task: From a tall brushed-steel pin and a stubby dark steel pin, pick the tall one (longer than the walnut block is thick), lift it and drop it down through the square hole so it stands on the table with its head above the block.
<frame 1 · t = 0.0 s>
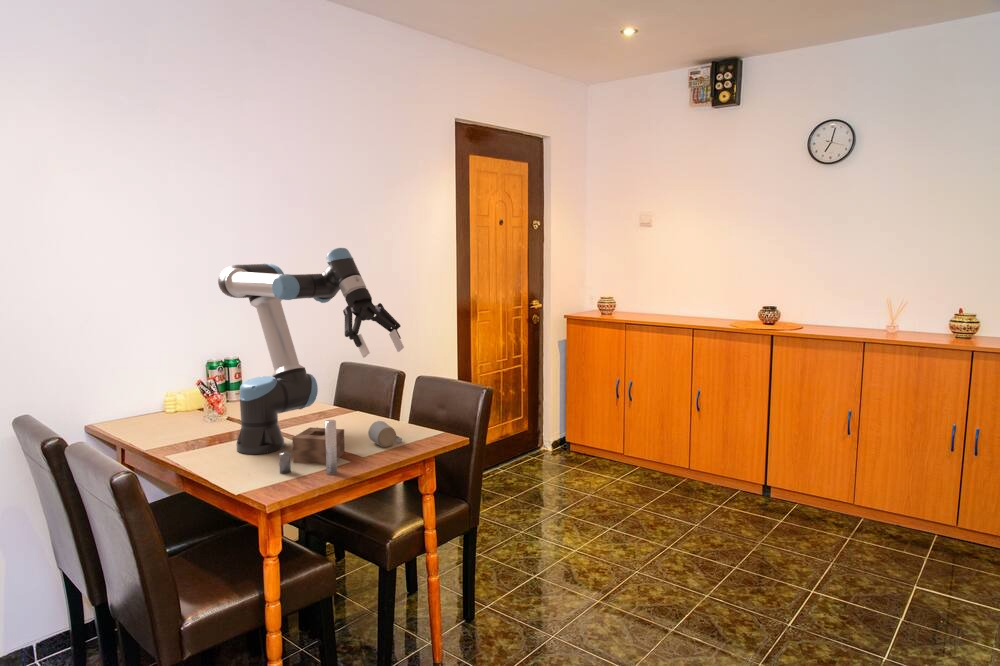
hand: (384, 352, 201), 36 cm above the table, tool tilted 35°, fingers open, 13 cm apart
tall pin: (331, 473, 201), on the table
short pin: (285, 472, 202), on the table
ceramic mug: (386, 444, 230), on the table
hole block: (319, 457, 215), on the table
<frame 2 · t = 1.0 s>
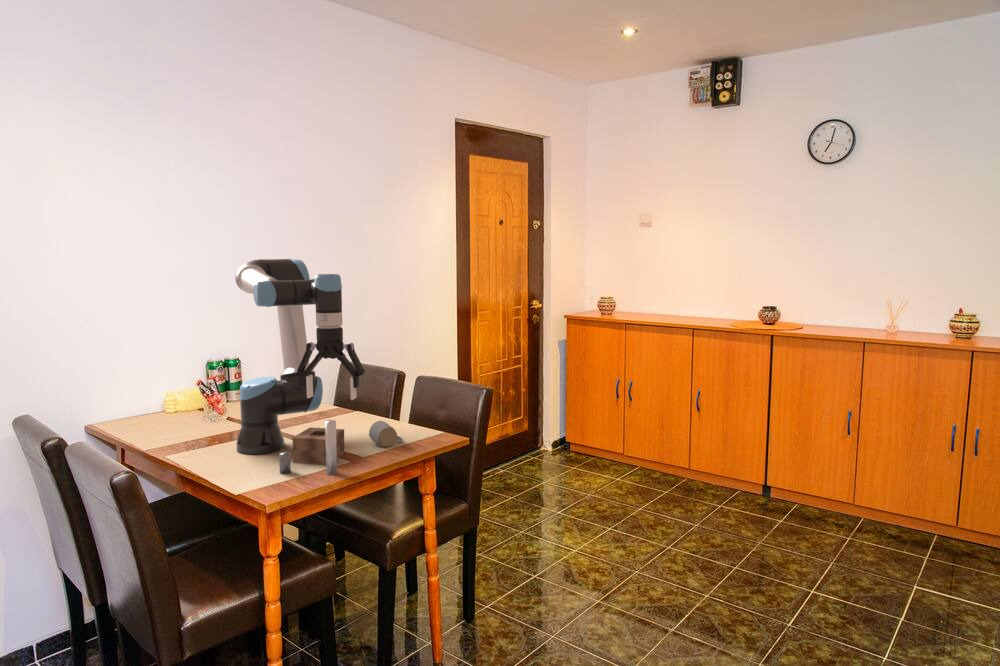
hand: (331, 398, 199), 23 cm above the table, tool pointing down, fingers open, 13 cm apart
nothing on the table moved.
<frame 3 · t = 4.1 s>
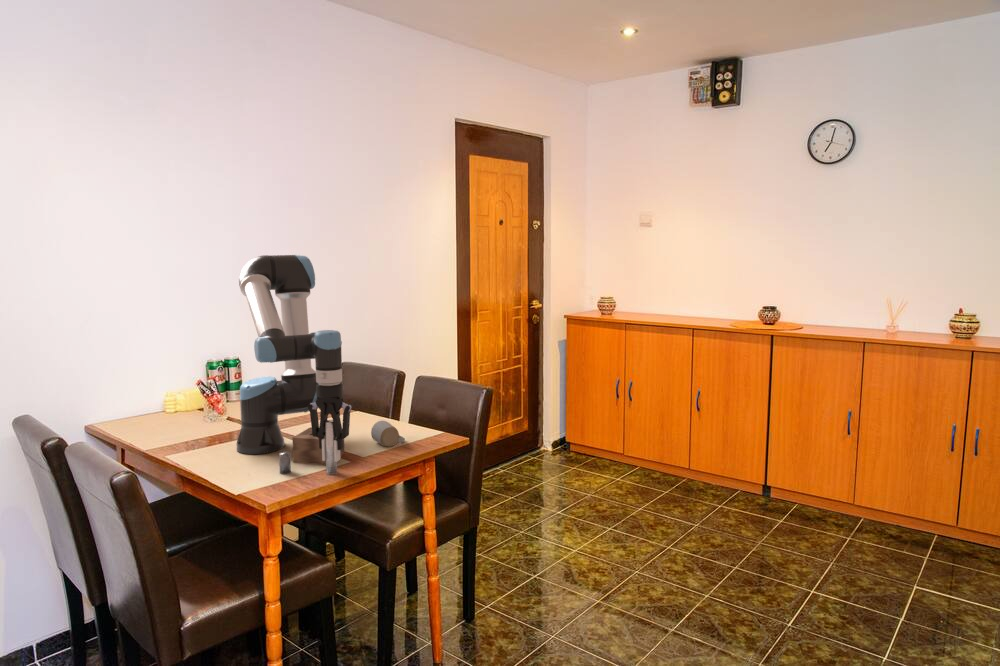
hand: (331, 459, 201), 4 cm above the table, tool pointing down, fingers closed on tall pin, 3 cm apart
tall pin: (331, 473, 201), on the table, touching gripper
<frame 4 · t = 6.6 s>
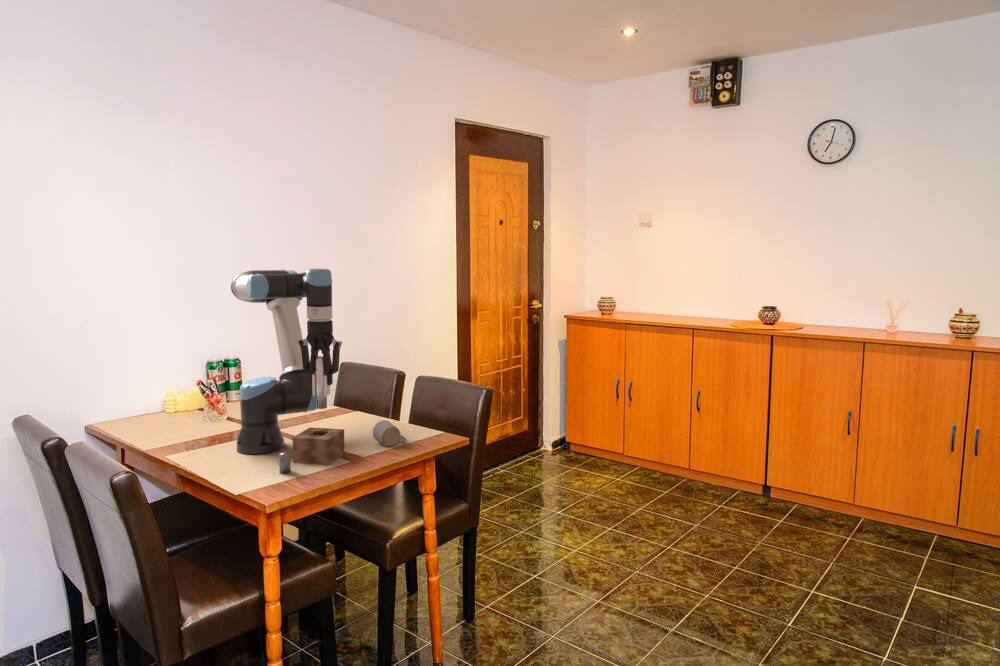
hand: (321, 394, 207), 22 cm above the table, tool pointing down, fingers closed on tall pin, 3 cm apart
tall pin: (321, 407, 208), point 18 cm above the table, touching gripper
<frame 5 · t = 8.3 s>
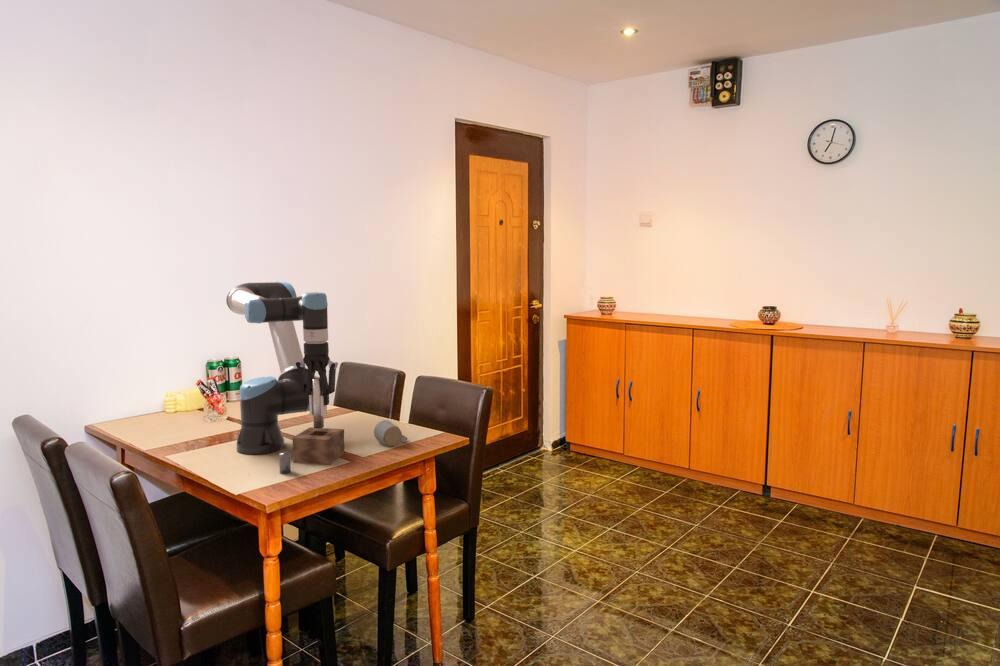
hand: (318, 414, 214), 14 cm above the table, tool pointing down, fingers closed on tall pin, 3 cm apart
tall pin: (318, 427, 214), point 10 cm above the table, touching gripper
when the fingers open (10 cm above the table, at t = 9.5 s): tall pin drops 6 cm, resting in hole block.
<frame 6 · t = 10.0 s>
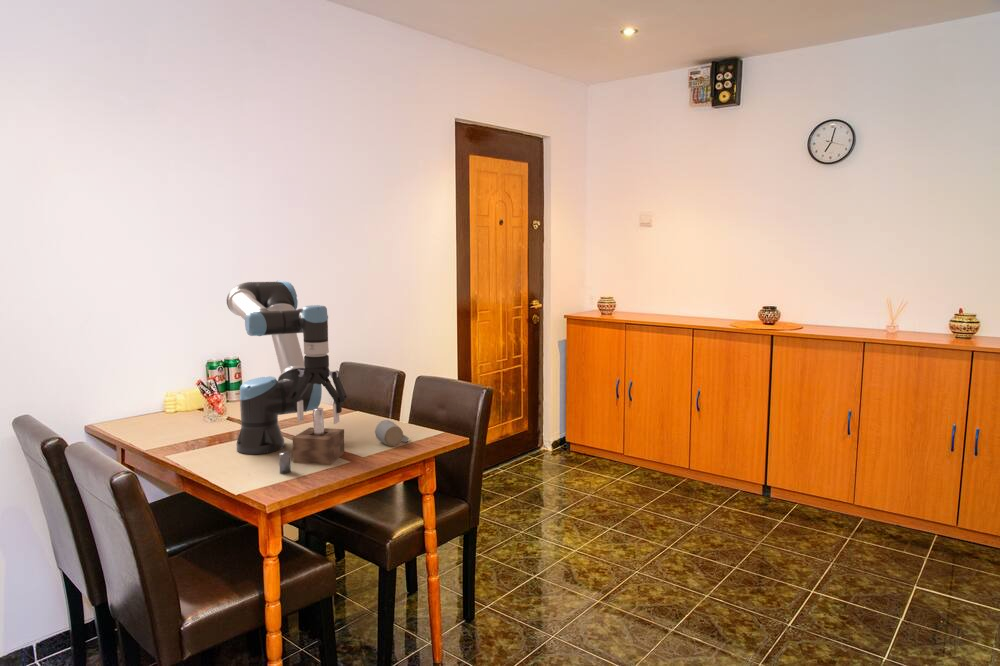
hand: (318, 421, 214), 12 cm above the table, tool pointing down, fingers open, 11 cm apart
tall pin: (320, 457, 215), resting in hole block
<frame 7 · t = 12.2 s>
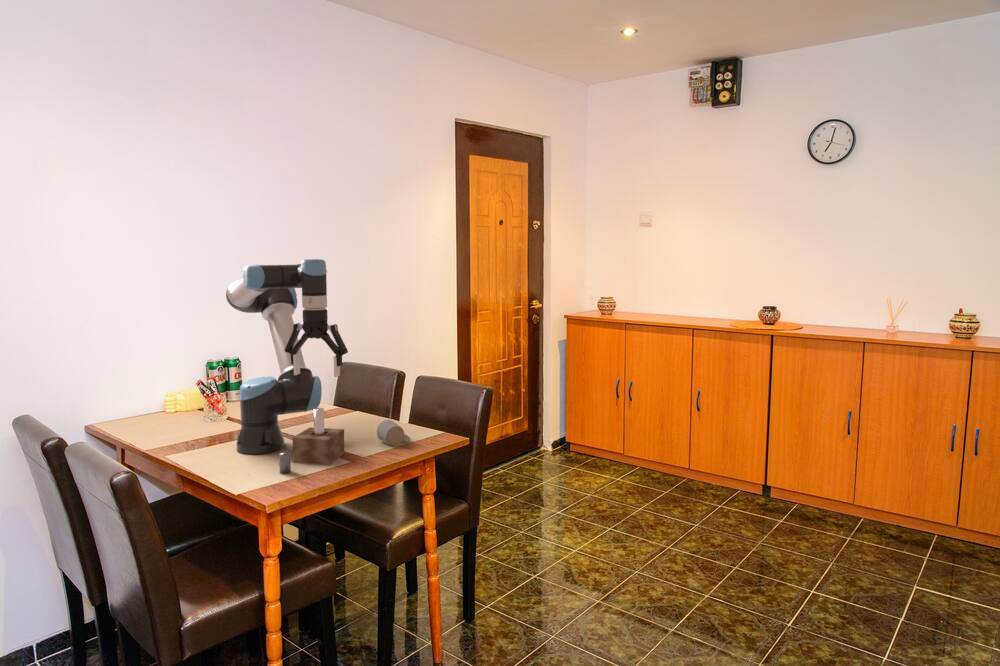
hand: (316, 375, 212), 27 cm above the table, tool pointing down, fingers open, 13 cm apart
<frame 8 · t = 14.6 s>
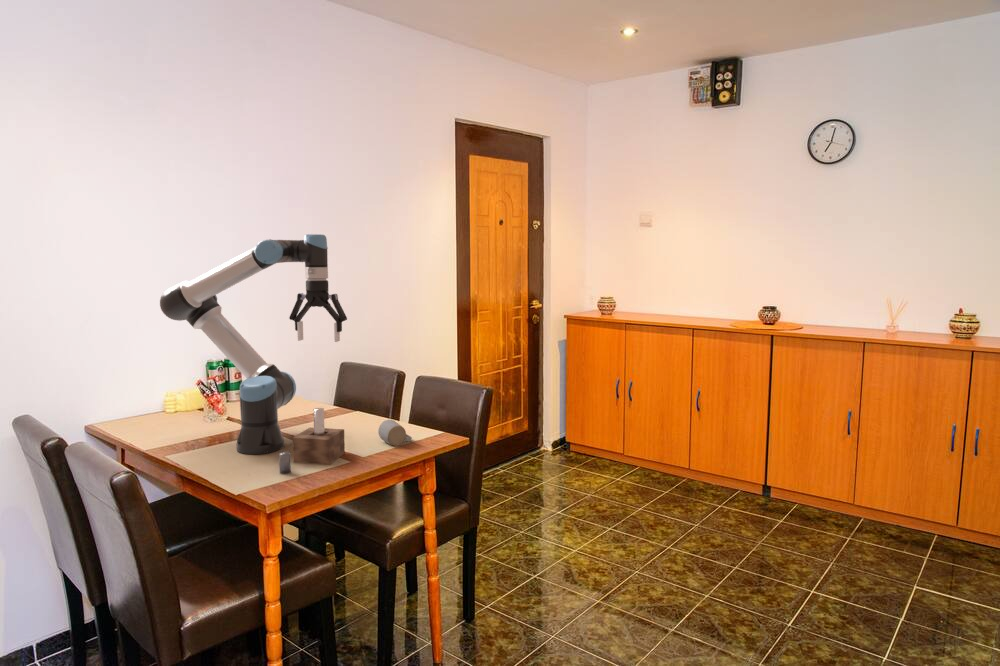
hand: (318, 340, 233), 35 cm above the table, tool pointing down, fingers open, 13 cm apart
at the end: tall pin 0.2 cm off-centre on the hole block, point 0.0 cm above the hole block's base; tall pin tilted 0°; short pin moved 0.0 cm from its start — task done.
